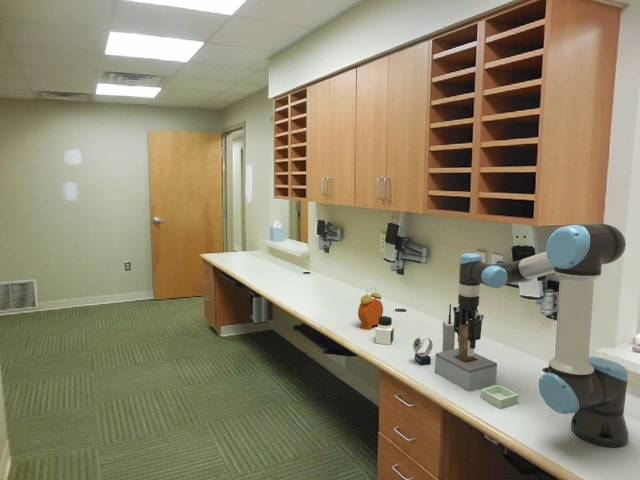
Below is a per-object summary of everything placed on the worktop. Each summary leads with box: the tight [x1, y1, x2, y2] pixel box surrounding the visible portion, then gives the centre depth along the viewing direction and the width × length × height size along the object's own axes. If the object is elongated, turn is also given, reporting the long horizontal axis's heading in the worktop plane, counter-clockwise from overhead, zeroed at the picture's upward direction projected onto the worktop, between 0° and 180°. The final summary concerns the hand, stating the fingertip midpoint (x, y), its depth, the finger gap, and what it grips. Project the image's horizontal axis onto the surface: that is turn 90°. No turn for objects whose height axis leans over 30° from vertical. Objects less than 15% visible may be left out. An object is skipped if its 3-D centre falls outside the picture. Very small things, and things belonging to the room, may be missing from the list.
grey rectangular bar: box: [441, 303, 456, 352], centre depth 198 cm, size 4×5×25 cm
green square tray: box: [480, 384, 519, 409], centre depth 166 cm, size 9×9×3 cm
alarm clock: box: [357, 287, 384, 331], centre depth 242 cm, size 13×6×20 cm, turn 135°
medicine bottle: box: [375, 315, 395, 346], centre depth 221 cm, size 7×7×12 cm
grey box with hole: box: [434, 347, 498, 392], centre depth 184 cm, size 18×14×8 cm
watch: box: [412, 336, 434, 367], centre depth 198 cm, size 6×8×11 cm
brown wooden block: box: [458, 322, 474, 363], centre depth 182 cm, size 4×4×16 cm
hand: (465, 353), depth 183 cm, fingers closed on brown wooden block, 4 cm apart
